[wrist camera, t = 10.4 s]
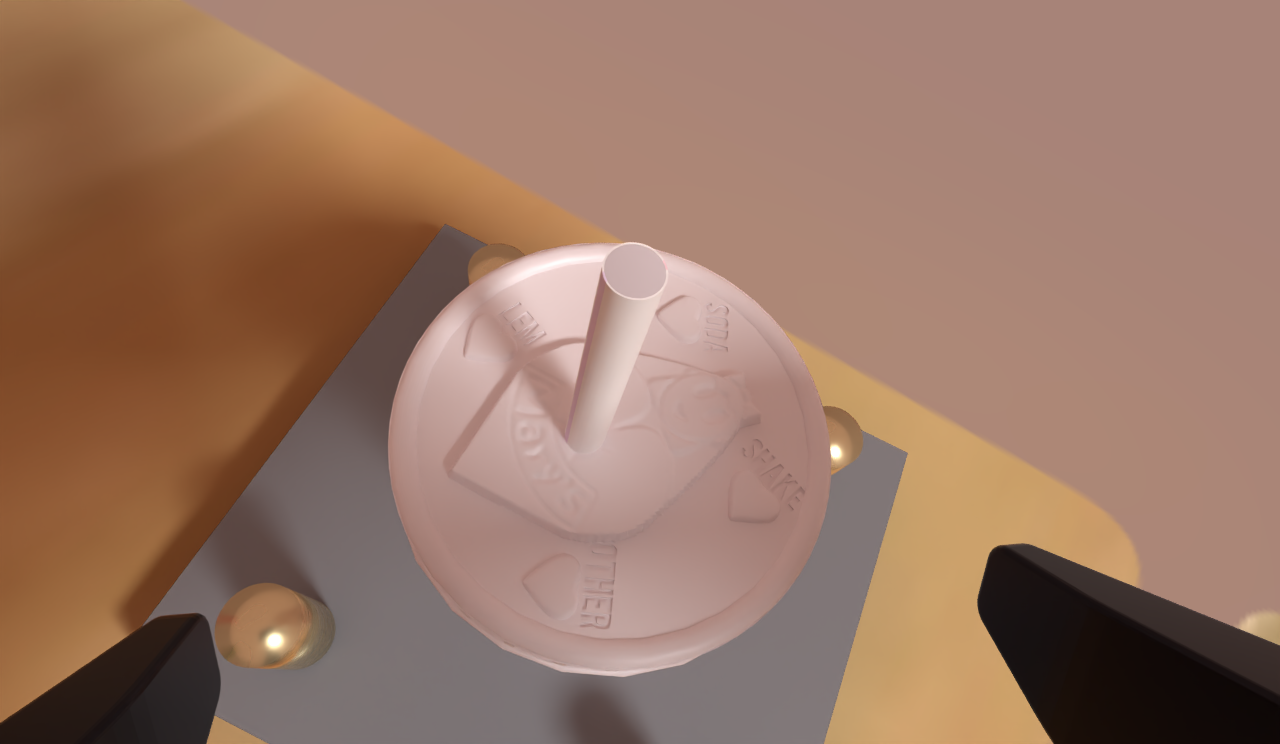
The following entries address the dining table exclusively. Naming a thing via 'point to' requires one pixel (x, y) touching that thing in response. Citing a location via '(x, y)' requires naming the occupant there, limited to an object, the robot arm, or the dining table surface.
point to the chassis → (444, 642)
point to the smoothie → (608, 458)
